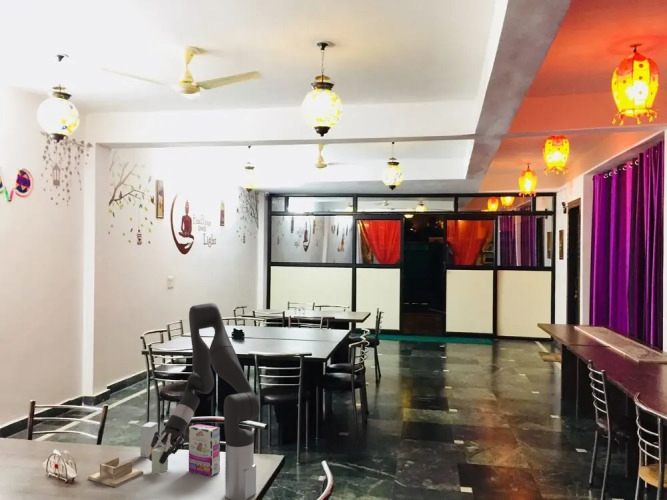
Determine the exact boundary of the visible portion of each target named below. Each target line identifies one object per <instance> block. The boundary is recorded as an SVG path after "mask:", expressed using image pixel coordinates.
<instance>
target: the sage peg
mask: <svg viewBox="0 0 667 500" xmlns="http://www.w3.org/2000/svg"><path fill="white" fill-rule="evenodd" d="M165 449H166V447H165V446H164V447H159V446H158V447H157V448H155V449H153V450H152V461H151V473H155V474H158V475H160V474H163V473H165V472H167V471H168V470H169V469H168V468H169V457H168V458H167V460H166V462H165V463H164V464H161V463H160V462H159V460H160V458H161V456H162V454H163V453H164V452H165Z"/></svg>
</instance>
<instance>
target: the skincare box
mask: <svg viewBox="0 0 667 500" xmlns="http://www.w3.org/2000/svg"><path fill="white" fill-rule="evenodd" d="M155 432H158V433H159V422H152V421H148V422H146V423H144V424H143V425H141V426H140V450H139V451H140V452H139V453H140V457H142V458H149V456H150V454H151V452H152V450H153V448H152V447H151V443H152V440H153V437H154V434H155ZM154 445H155V444H154Z"/></svg>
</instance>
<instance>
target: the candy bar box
mask: <svg viewBox="0 0 667 500" xmlns="http://www.w3.org/2000/svg"><path fill="white" fill-rule="evenodd" d="M220 455H221V427H219V426H212V425H209V424H208V425H206V424H201V423H195V424H194V425H193V424H192V425H190V426H188V472H191V473H194V474H198V475H203V476H208V477H213V476H215V475H217V474H219V473H220V472H221V469H220V468H221V467H220V466H221V465H220V464H221V463H220V461H221V458H220V457H221V456H220Z"/></svg>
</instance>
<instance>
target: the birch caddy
mask: <svg viewBox="0 0 667 500" xmlns="http://www.w3.org/2000/svg"><path fill="white" fill-rule="evenodd" d="M143 475H144V471H143V470H140V469H139V470H138V469H136V468H133V460H129V461H126V462H124V463H122V464H120V457H118V456H117V457H115V458H112V459H110V460H108V461H105V462H102V463H100V464H99V471H98V472H96V473H95V472H94V473H92V474H91V475H88V476H87V477H88V480H90V481H93V482H97V483H100V484H103V485H108V486H111V487H114V488H117V487H119V486H121V485H123V484H125V483H128V482H130V481H132V480H134V479H136V478H138V477H140V476H143Z"/></svg>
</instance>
